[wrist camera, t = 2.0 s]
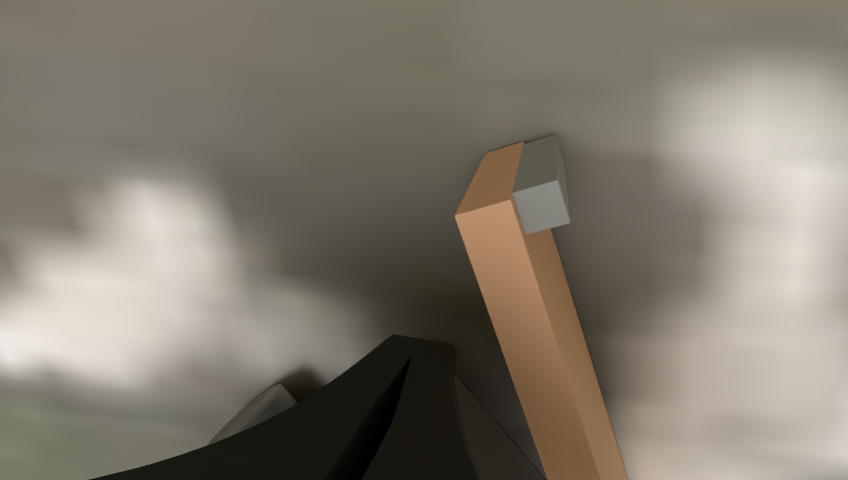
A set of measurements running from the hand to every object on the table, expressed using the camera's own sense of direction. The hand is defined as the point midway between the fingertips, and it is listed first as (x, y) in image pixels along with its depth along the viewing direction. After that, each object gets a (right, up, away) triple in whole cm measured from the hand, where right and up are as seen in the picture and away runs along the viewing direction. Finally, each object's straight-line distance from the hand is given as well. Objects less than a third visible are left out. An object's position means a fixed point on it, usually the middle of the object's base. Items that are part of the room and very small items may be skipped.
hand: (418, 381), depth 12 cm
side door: (+5, -1, +4) cm, 7 cm away
